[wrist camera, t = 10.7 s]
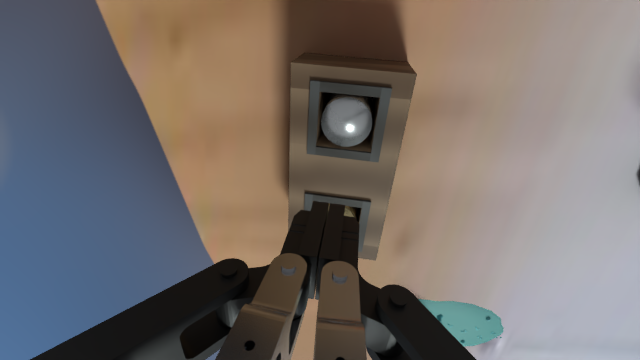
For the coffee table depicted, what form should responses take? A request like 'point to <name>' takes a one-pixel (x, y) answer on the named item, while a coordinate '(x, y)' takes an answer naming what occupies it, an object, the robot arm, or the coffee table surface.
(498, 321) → the diorama
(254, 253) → the coffee table surface
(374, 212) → the walnut block
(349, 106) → the steel peg
